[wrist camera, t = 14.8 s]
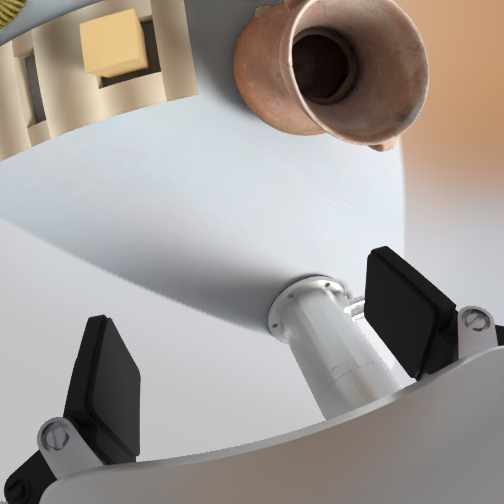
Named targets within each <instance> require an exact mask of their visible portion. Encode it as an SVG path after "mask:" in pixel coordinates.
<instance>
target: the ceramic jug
mask: <svg viewBox="0 0 504 504" xmlns="http://www.w3.org/2000/svg"><path fill="white" fill-rule="evenodd" d="M283 1H284V3H282V4H278V5H275V6H271V5H267V6H261V7H257V8H256V9H255V11H254V14H253V17H252V18H251V20H250V22H249V23H248V24H247V25H246V26H245V28H244V29H243V31H242V32H241V34H240V36H239V38H238V41H237V43H236V46H235V50H234V56H233V71H234V77H235V82H236V85H237V88H238V90H239V92H240V94H241V96H242V98H243V100H244V102H245V103H246V105H247V106H248V107H249V108H250V110H251V111H252V112H253V113H254V114H255V115H256V116H257V117H258V118H260V119H261V120H262V121H263V122H265V123H266V124H268V125H270V126H271V127H273V128H275V129H277V130H280V131H282V132H285V133H289V134H294V135H303V136H307V135H318V134H322V133H325V132H327V133H329V134H331V135H332V136H334V137H336V138H338V139H340V140H343V141H346V142H349V143H352V144H357V145H367V146H369V147H371V148H372V149H374V150H376V151H379V152H383V151H388V150H390V149H392V148H393V147H394V146H395V144H396V141H397V137H398V136H399V135H401V134H402V133H404V132H405V131H406V130H407V129H409V127H410V126H411V125H412V124H413V123H414V122H415V120H416V118H417V117H418V115H419V113H420V111H421V110H422V108H423V106H424V104H425V101H426V97H427V91H428V86H429V66H428V57H427V52H426V48H425V46H424V43H423V40H422V38H421V35H420V33H419V31H418V29H417V28H416V26H415V25H414V23H413V21H412V20H411V18H410V17H409V16H408V14H406V12H405V11H403V10H402V9H401V8H400V6H399V5H397V4H396V3H395V2H394V1H393V0H283Z"/></svg>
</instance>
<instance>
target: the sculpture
mask: <svg viewBox="0 0 504 504" xmlns="http://www.w3.org/2000/svg"><path fill="white" fill-rule="evenodd" d="M26 2H27V0H22V1H20V0H0V29H2V28H3V27H5V26H6V25H8V24H9V23H10V22H12V20H14V17H17V15H18V13H17V12H20V11H21V9H20V8H18V7H24V6H25V4H23V3H26ZM16 6H18V7H16ZM16 11H17V12H16ZM12 12H13V13H12ZM10 16H11V18H10ZM4 20H5V21H4Z"/></svg>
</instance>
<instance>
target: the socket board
mask: <svg viewBox="0 0 504 504" xmlns="http://www.w3.org/2000/svg"><path fill="white" fill-rule="evenodd" d="M130 9H134V10H135V13H136V15H137V18H138V20H139V22H140V24H144V23H148V22H153V24H154V30H155V37H156V43H157V49H158V55H159V61H160V67H161V72H157V73H153V74H149V75H145V76H142V77H138V78H134V79H131V80H127V81H124V82H120V83H117V84H114V85H110V86H107V87H104V83H103V78H102V76H98V75H93V74H88V73H85V67H84V60H83V52H82V44H81V35H80V25H79V24H82V23H85V22H88V21H91V20H94V19H97V18H100V17H104V16H107V15H111V14H114V13H118V12H122V11H126V10H130ZM33 54H35V61H36V68H37V74H38V80H39V86H40V91H41V97H42V101H43V106H44V111H45V115H46V120H45V121H42V122H40V123H37V119H36V114H35V110H34V105H33V100H32V95H31V89H30V84H29V78H28V72H27V65H26V58H27V57H29V56H31V55H33ZM195 95H199V92H198V86H197V80H196V74H195V68H194V62H193V56H192V50H191V44H190V38H189V31H188V25H187V19H186V12H185V6H184V0H104V1H101V2H98V3H95V4H92V5H89V6H86V7H83V8H81V9H78V10H75V11H73V12H70V13H68V14H65V15H63V16H60V17H58V18H56V19H53V20H51V21H49V22H47V23H44V24H42V25H40V26H38V27H36V28H34V29H32V30H30V31H28V32H26V33H24V34H22V35H20V36H18V37H16V38H14V39H12V40H11V41H9V42H7V43H5V44H4V45H2V46H0V162H1V161H3V160H5V159H7V158H9V157H11V156H13V155H15V154H17V153H20V152H22V151H24V150H26V149H28V148H31V147H33V146H35V145H37V144H40V143H42V142H44V141H47V140H49V139H52V138H54V137H57V136H59V135H62V134H64V133H67V132H69V131H72V130H75V129H77V128H80V127H83V126H86V125H89V124H91V123H94V122H97V121H100V120H103V119H107V118H110V117H113V116H116V115H119V114H123V113H126V112H130V111H133V110H137V109H140V108H144V107H148V106H151V105H155V104H159V103H163V102H168V101H172V100H176V99H181V98H185V97H190V96H195Z"/></svg>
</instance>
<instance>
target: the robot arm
mask: <svg viewBox="0 0 504 504" xmlns="http://www.w3.org/2000/svg"><path fill="white" fill-rule="evenodd" d="M363 304H364V305H363ZM360 305H362V306H360ZM356 306H359V307H356ZM353 307H356V308H355V309H352V308H353ZM455 308H456V304H454V303H453V302H452V301H451V300H450V299H449V298H448V297H447V296H446V295H444V294H443V293H442V292H441V291H440V290H439V289H438V288H437V287H436V286H434V285H433V284H432V283H431V282H430V281H428V280H427V279H426V278H425V277H424V276H423V275H422V274H420V273H419V272H418V271H417V270H416V269H415V268H413V267H412V266H411V265H410V264H408V263H407V262H406V261H405V260H404V259H402V258H401V257H400V256H399V255H398V254H396V253H395V252H394V251H393V250H391V249H390V248H389V247H387V246H383V247H379V248H376V249H373V250H372V251H371V254H369V255H368V258H367V273H366V287H365V298H364V297H363V296H359V297H356V298H354V299H352V300H349V299H347V295H346V293H345V290H344V289H343V287H342V286H341V285H340V284H339V283H338V282H337V281H336V280H334V279H332V278H329V277H325V276H315V277H309V278H306V279H302V280H300V281H298V282H296V283H294V284H292V285H291V286H289V287H288V288H286V289H285V290H284V291H283V292H282V293H281V294H280V295H279V296H278V297H277V298H276V299H275V301H274V302H273V304H272V306H271V308H270V311H269V314H268V325H269V328H270V331H271V333H272V334H273V336H274V337H275V338H276V339H277V340H279V341H280V342H283V343H286V344H289V346H290V348H291V350H292V353H293V355H294V357H295V359H296V361H297V363H298V365H299V367H300V369H301V371H302V373H303V375H304V377H305V379H306V381H307V384H308V385H309V388H310V390H311V392H312V394H313V396H314V398H315V400H316V402H317V404H318V406H319V408H320V410H321V412H322V414H323V416H324V418H325V419H326V421H323V422H321V423H318V424H315V425H311V426H308V427H305V428H302V429H299V430H296V431H292V432H289V433H286V434H282V435H279V436H275V437H272V438H268V439H264V440H260V441H256V442H252V443H248V444H244V445H240V446H236V447H231V448H227V449H221V450H217V451H211V452H206V453H200V454H194V455H188V456H181V457H174V458H168V459H161V460H153V461H143V462H136V456H139V454H140V423H139V422H140V415H139V414H140V379H141V378H140V372H139V369H138V367H137V366H136V364H135V362H134V360H133V359H132V357H131V355H130V353H129V352H128V349H127V348H126V346H125V344H124V342H123V340H122V338H121V336H120V335H119V333H118V331H117V329H116V327H115V325H114V323H113V321H112V319H111V318H107V317H106V316H105V315H99V316H94V317H90V318H89V319H88V321H87V324H86V328H85V331H84V335H83V338H82V342H81V346H80V349H79V353H78V357H77V359H76V361H75V364H74V368H73V372H72V376H71V381H70V386H69V390H68V395H67V399H66V404H65V409H64V414H63V417H56V418H52V419H50V420H48V421H46V422H45V423H44V424H43V425H42V426H41V428H40V430H39V432H38V435H37V444H38V447H39V450H38V451H37V452H36V453H35V454H34V455H32V456H31V457H30V458H29V459H28V460H27V461H26V462H25V463H24V464H23V465H21V466H20V467H19V468H18V469H17V470H16V471H15V472H14V473H13V474H11V475H10V476H9V478H8V479H7V481H6V483H5V487H4V495H5V498H6V502H3V501H1V503H0V504H504V326H499V325H495V324H494V320H493V317H492V316H491V315H490V313H489V312H487V311H486V310H485V309H482V308H481V307H477V306H467V307H464V308H462V309H461V310H460V311H459V312H458V311H456V310H455ZM364 317H365V319H366V320H367V321H368V323H369V324H370V325H371V327H372V328H373V329H374V330H375V332H376V333H377V334H378V336H379V337H380V338H381V339H382V341H383V342H384V343H385V345H386V346H387V347H388V349H389V350H390V351H391V352H392V354H393V355H394V356H395V358H396V359H397V360H398V362H399V363H400V364H401V366H402V367H403V368H404V369H405V371H406V372H407V374H408V375H409V376H410V377H411V378H415V379H416V380H417V382H415V383H413V384H412V385H409V386H407V387H405V388H403V387H402V386H401V384H400V383H399V382H398V381H397V379H396V378H395V376H394V375H393V374H392V372H391V371H390V369H389V368H388V366H387V365H386V364H385V362H384V361H383V359H382V358H381V357H380V355H379V354H378V352H377V351H376V350H375V348H374V347H373V346H372V344H371V343H370V341H369V340H368V339H367V337H366V336H365V334H364V333H363V332H362V330H361V329H360V328H359V326H358V325H357V324H356V322H355V321H354V320H357V319H361V318H364Z"/></svg>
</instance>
